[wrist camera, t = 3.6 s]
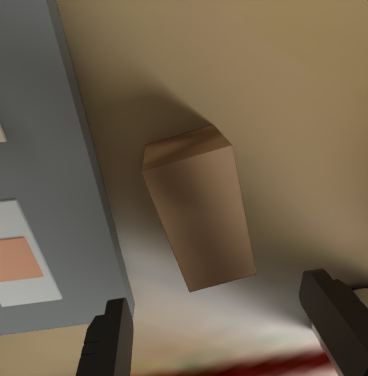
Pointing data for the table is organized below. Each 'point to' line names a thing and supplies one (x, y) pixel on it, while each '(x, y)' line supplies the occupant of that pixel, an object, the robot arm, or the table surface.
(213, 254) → the walnut brick
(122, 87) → the table surface
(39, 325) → the board
